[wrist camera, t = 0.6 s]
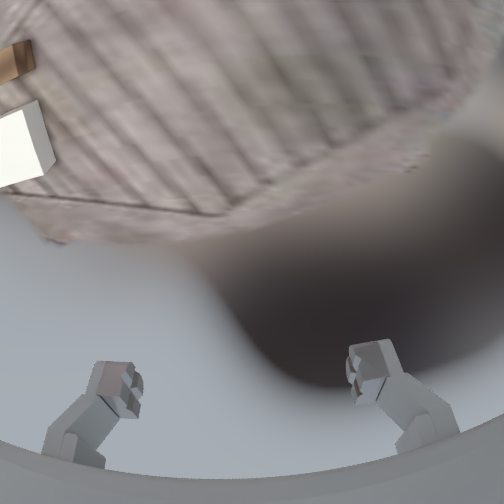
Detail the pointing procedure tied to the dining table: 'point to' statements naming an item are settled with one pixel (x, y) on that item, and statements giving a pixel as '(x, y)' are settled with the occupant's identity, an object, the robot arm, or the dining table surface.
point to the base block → (24, 145)
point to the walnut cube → (16, 61)
